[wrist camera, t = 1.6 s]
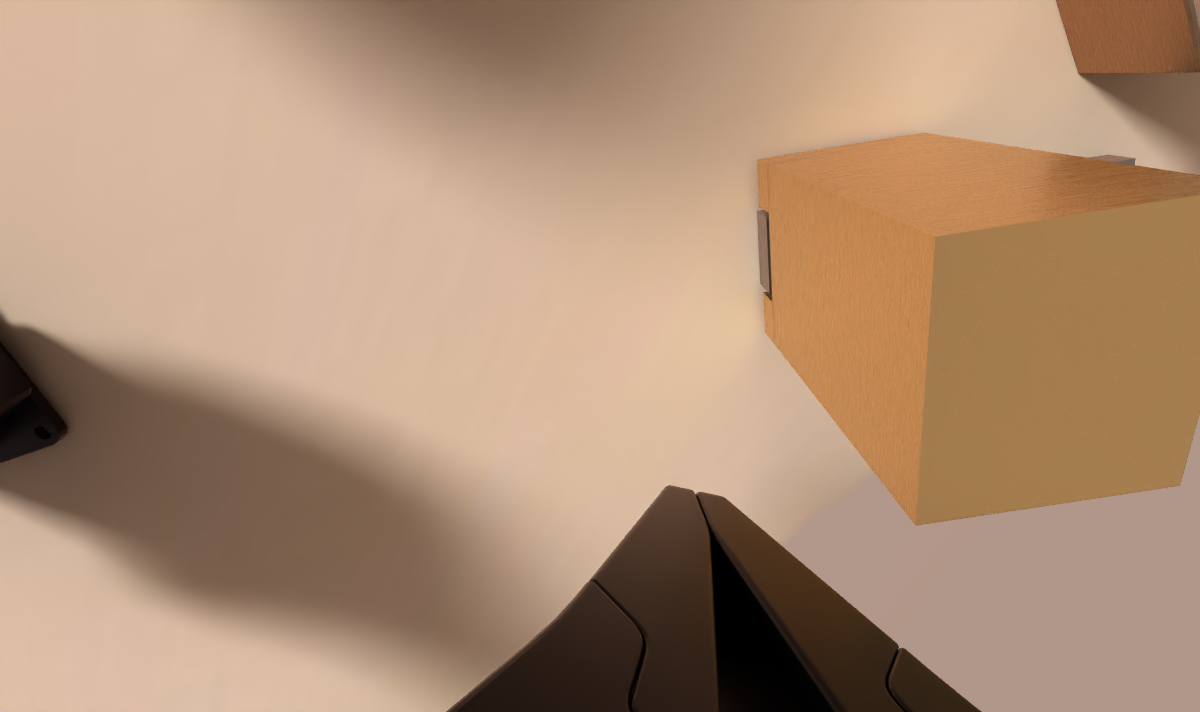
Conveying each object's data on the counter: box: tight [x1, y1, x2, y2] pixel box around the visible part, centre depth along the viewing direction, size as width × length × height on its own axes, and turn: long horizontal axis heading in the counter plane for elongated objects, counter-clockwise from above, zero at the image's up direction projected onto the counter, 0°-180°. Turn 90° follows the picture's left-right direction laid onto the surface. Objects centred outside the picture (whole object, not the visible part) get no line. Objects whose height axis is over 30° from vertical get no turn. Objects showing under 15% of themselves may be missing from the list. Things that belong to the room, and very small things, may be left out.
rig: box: [757, 0, 1200, 293], centre depth 16 cm, size 13×9×6 cm, turn 99°
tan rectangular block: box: [757, 133, 1200, 525], centre depth 15 cm, size 5×6×10 cm
